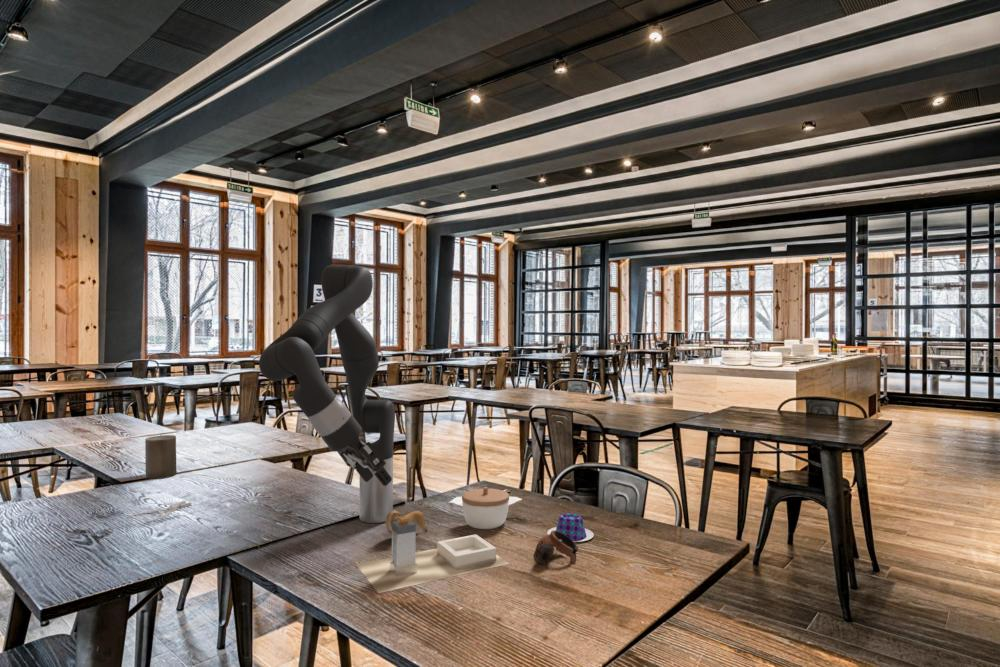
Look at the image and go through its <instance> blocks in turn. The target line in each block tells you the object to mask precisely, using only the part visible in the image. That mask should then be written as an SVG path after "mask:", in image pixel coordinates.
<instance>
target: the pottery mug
mask: <svg viewBox="0 0 1000 667" xmlns="http://www.w3.org/2000/svg"><path fill="white" fill-rule="evenodd" d="M560 540H562V541H560ZM554 550H556V551H558V552H560V554H564V555H565V556H566V557H568V558H569V559H570V560H569V564H572V563H574V564H576V562H577V552H578V550H579V547H578V545H577V544H576V542H573V541H572V540H571V539H570V538H569V537H567V536H566V535H564V534H563V533H561V532H558V531H555V530H554V531H551V533H550V534H549V535H548V534H546V535H544V536H542V537H541V538H540V539H539V541H538V542H537V544H536V546H535V550H534V554H533V558H534V560H535V561H536V562H537V563H538V564H540V565H548V564H549V561H550V559H551V558H552V556H553V554H554Z"/></svg>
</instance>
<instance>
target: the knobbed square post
mask: <svg viewBox="0 0 1000 667" xmlns="http://www.w3.org/2000/svg"><path fill="white" fill-rule="evenodd" d="M416 526H417V524H415V523H414V522H412V521H411V520H410V519H408V518H407V517H405V518H400V521H394V522H392V534H391V557H392V562H390V571H391V572H392V573H393V574H394V575H395V576H396V577H397V576H402V575H407V574H411V573H416V572H417V563H416V562H415V553H416V544H417V543H416V537H417V536H416V531H417V527H416Z"/></svg>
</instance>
